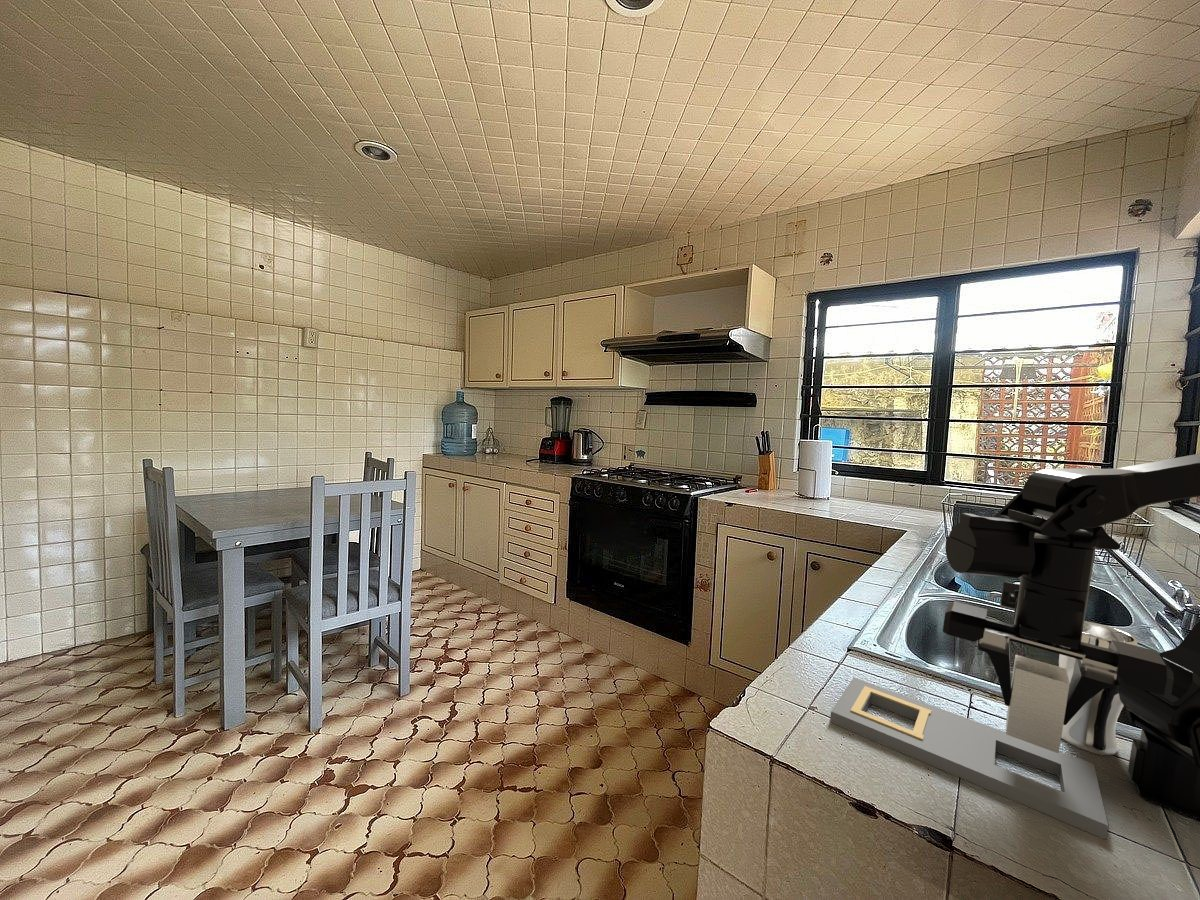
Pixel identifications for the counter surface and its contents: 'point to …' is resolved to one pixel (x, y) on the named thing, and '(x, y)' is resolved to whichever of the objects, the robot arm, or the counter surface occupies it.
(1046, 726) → the peg
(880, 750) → the counter surface
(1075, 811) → the rail
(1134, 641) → the silver metal cylinder
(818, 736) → the counter surface
